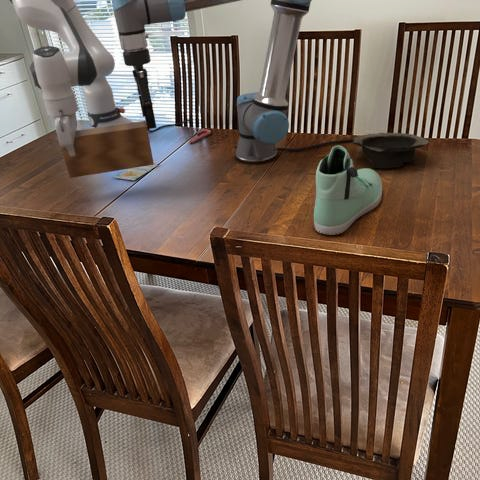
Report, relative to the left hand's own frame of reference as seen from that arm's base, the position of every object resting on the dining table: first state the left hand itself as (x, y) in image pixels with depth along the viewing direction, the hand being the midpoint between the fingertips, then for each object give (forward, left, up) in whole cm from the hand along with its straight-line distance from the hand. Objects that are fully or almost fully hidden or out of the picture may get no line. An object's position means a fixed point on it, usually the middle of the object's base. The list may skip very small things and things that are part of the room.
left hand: (73, 151), depth 148 cm
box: (-9, +6, -7) cm, 13 cm away
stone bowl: (-84, +61, -17) cm, 105 cm away
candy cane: (-61, -13, -17) cm, 64 cm away
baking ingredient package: (-24, -5, -17) cm, 29 cm away
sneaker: (-45, +70, -17) cm, 85 cm away
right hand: (-20, +13, +6) cm, 25 cm away
